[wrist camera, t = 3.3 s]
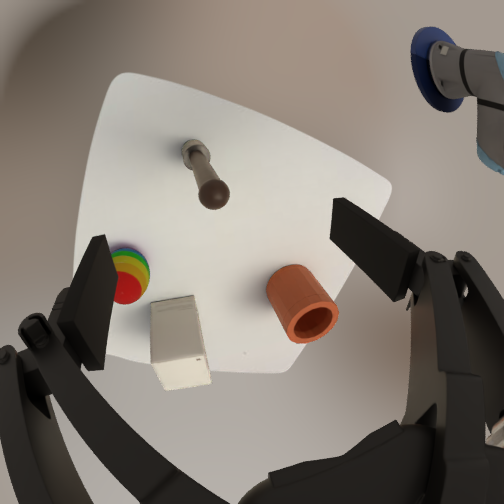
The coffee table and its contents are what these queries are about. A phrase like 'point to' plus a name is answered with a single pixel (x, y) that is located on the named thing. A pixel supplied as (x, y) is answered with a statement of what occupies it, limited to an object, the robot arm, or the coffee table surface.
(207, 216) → the coffee table surface
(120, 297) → the decorative egg
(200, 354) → the rectangular carton
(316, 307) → the jar
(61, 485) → the robot arm
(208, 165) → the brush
